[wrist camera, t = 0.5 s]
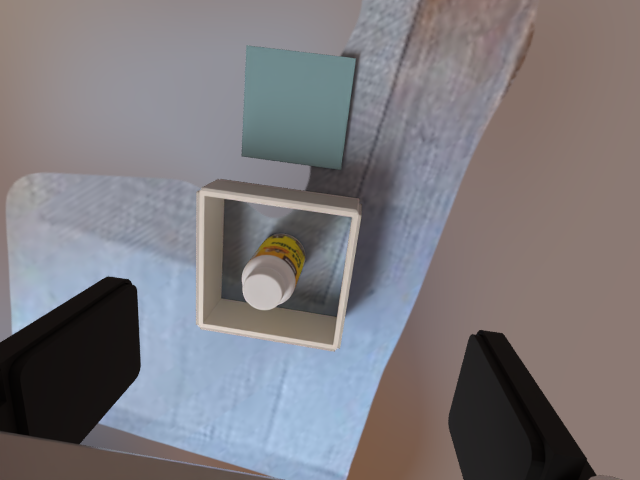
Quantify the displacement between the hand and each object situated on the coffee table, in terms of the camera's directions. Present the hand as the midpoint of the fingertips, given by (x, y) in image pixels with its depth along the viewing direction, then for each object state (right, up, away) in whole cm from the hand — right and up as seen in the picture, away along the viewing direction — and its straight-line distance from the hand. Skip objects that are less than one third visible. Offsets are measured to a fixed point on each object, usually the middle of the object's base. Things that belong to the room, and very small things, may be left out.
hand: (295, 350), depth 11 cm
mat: (-2, +17, +30) cm, 34 cm away
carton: (-4, +1, +35) cm, 36 cm away
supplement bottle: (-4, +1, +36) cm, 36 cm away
